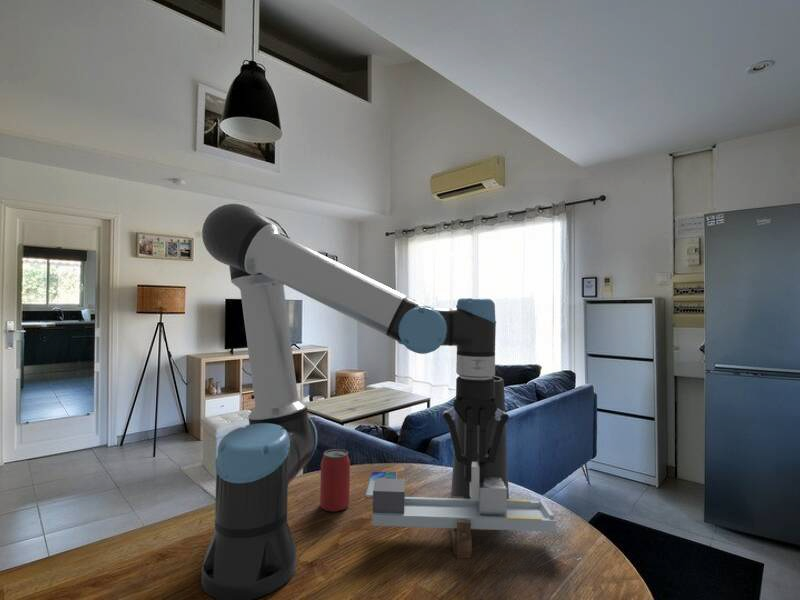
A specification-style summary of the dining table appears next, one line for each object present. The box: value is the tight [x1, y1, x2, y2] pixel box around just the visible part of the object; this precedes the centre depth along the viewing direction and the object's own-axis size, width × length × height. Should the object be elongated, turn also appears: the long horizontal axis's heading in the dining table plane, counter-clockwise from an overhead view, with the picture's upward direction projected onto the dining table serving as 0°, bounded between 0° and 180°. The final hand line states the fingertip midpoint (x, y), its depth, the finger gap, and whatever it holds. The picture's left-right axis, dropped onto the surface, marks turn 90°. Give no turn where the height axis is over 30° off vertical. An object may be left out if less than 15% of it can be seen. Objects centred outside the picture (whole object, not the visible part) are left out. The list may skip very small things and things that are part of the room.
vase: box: [450, 375, 510, 499], centre depth 99 cm, size 14×14×29 cm
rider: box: [476, 477, 507, 517], centre depth 80 cm, size 5×5×6 cm
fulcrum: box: [449, 496, 473, 559], centre depth 80 cm, size 3×12×6 cm, turn 179°
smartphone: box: [364, 471, 398, 499], centre depth 106 cm, size 7×1×15 cm
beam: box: [371, 478, 556, 533], centre depth 80 cm, size 34×8×6 cm, turn 89°
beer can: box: [319, 448, 351, 513], centre depth 94 cm, size 7×7×12 cm
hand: (474, 497), depth 80 cm, fingers closed
